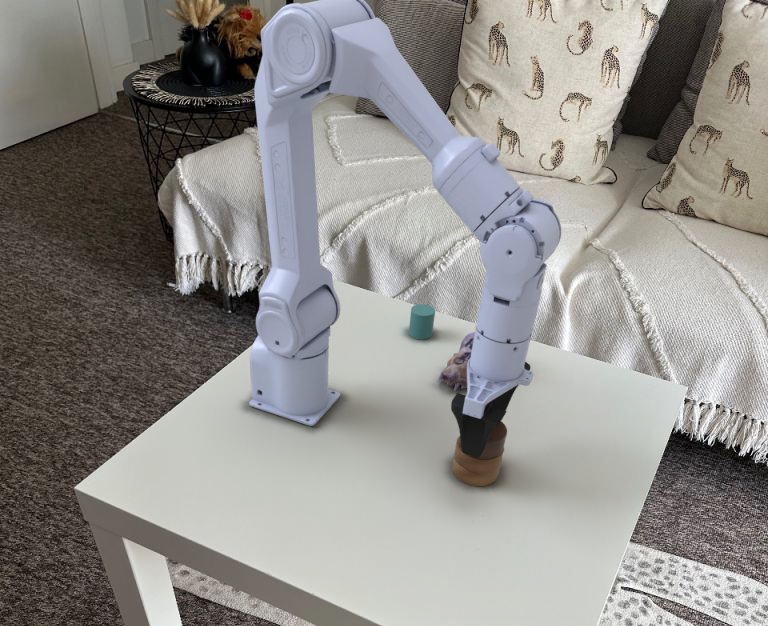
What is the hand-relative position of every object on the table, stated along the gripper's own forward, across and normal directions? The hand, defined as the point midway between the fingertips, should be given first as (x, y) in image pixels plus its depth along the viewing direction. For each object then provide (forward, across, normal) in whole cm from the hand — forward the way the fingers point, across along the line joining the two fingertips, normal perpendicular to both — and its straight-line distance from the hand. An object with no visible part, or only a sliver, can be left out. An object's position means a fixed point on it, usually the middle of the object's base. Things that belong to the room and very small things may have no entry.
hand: (482, 435), depth 82 cm
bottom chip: (+5, 0, 0) cm, 5 cm away
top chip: (+3, 0, 0) cm, 3 cm away
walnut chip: (+1, 0, 0) cm, 1 cm away
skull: (+6, +20, +8) cm, 22 cm away
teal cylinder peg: (+5, +27, +18) cm, 33 cm away
